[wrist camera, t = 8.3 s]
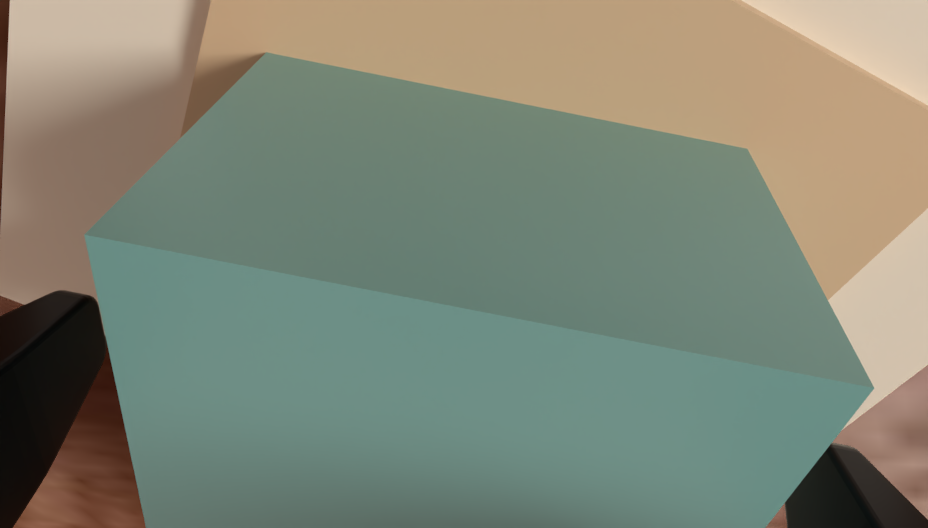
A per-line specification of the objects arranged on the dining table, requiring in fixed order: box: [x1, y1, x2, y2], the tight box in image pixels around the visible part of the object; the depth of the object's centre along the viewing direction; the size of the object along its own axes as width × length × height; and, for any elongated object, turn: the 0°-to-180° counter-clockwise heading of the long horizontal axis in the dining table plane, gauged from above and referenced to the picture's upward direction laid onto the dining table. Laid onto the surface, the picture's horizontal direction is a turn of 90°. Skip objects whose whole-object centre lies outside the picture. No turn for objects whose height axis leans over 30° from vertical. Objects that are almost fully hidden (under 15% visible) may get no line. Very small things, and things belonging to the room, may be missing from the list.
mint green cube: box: [84, 52, 874, 528], centre depth 8 cm, size 6×6×4 cm
